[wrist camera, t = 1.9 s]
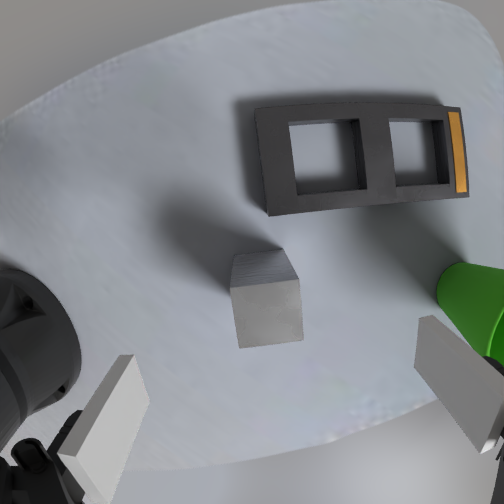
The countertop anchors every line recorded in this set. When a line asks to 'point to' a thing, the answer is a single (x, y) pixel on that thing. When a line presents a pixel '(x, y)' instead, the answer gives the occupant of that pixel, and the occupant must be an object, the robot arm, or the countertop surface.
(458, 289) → the cup
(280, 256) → the gray squarish block
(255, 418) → the countertop surface
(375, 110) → the dark grey flat frame
